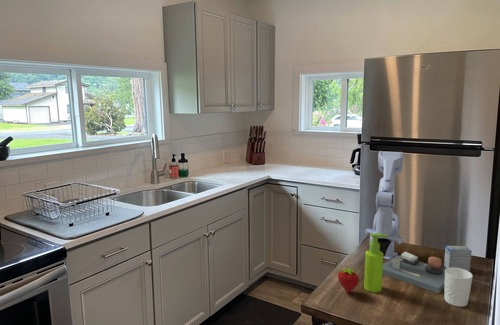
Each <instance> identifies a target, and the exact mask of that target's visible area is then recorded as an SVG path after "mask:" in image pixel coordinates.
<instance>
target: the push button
mask: <svg viewBox="0 0 500 325" xmlns="http://www.w3.org/2000/svg"><path fill="white" fill-rule="evenodd" d="M427 258H428V261H427V264H428V265H429V266H430V267H434V268H440V267H441V268H442V258H440V257H438V256H437V257H436V256H429V257H427Z"/></svg>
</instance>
